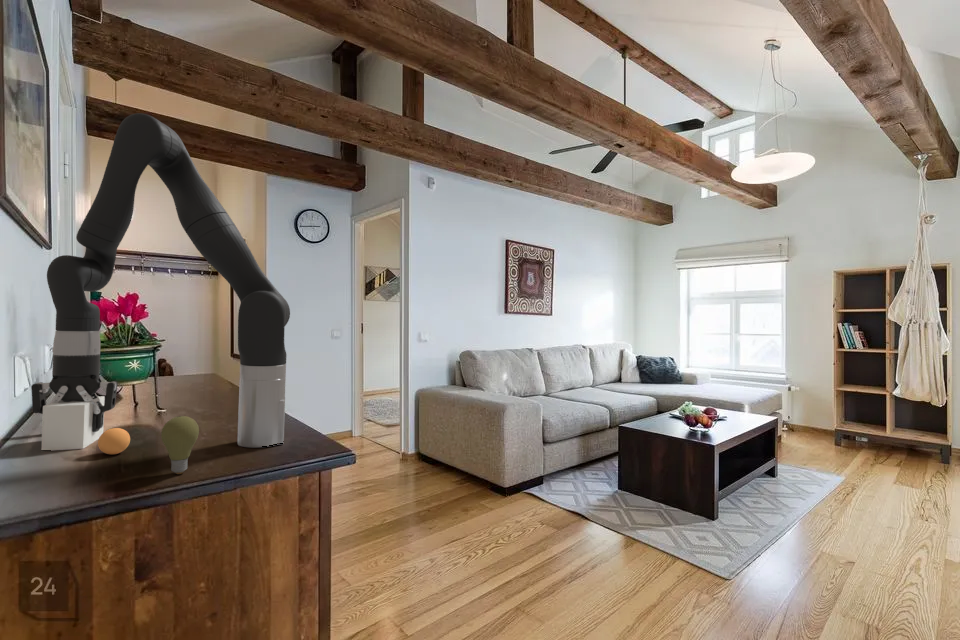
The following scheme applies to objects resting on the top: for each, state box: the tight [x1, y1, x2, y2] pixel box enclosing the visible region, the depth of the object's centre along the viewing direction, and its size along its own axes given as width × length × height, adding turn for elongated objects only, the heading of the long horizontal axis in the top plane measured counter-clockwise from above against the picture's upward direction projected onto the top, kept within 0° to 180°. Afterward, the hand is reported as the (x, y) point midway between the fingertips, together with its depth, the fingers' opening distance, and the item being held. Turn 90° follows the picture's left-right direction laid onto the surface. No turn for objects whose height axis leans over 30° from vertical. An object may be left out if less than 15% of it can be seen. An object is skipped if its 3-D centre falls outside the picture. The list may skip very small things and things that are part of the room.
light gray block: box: [40, 395, 106, 451], centre depth 99 cm, size 7×11×9 cm, turn 22°
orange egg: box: [97, 427, 131, 455], centre depth 92 cm, size 5×5×5 cm
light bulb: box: [160, 415, 200, 475], centre depth 83 cm, size 6×6×10 cm
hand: (74, 431), depth 99 cm, fingers closed on light gray block, 6 cm apart
